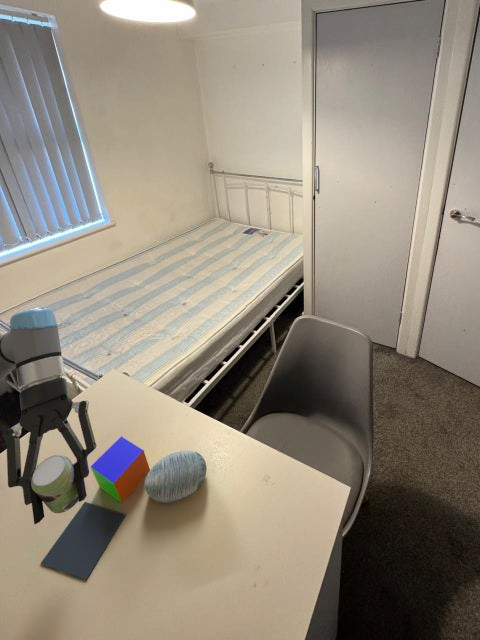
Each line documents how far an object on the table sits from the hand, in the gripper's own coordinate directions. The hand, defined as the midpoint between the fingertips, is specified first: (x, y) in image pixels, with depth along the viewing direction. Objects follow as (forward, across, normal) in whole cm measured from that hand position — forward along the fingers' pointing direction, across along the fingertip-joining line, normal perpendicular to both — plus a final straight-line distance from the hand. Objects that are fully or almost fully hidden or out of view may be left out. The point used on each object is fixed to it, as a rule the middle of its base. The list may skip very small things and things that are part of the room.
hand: (61, 509), depth 59 cm
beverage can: (0, 0, -5) cm, 5 cm away
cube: (+3, -8, -20) cm, 22 cm away
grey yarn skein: (+9, -19, -14) cm, 26 cm away
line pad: (+9, 0, -14) cm, 17 cm away
